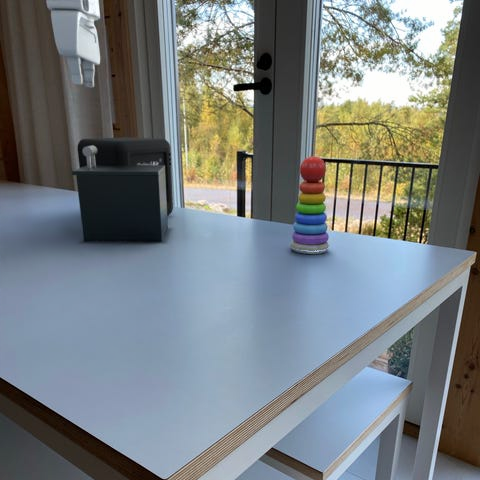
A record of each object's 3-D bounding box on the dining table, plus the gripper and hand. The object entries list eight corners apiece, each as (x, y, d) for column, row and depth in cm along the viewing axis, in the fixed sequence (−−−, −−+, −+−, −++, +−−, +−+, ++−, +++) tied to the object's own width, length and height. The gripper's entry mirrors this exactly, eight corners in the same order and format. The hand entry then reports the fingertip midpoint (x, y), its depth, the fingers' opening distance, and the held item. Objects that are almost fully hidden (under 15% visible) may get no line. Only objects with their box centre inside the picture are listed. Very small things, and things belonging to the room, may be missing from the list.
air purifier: (125, 228, 116) (118, 141, 108) (84, 221, 123) (75, 139, 115) (177, 215, 132) (174, 138, 124) (138, 209, 139) (133, 137, 131)
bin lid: (72, 175, 98) (68, 147, 96) (88, 168, 111) (85, 144, 109) (158, 175, 99) (157, 148, 97) (165, 168, 112) (163, 145, 110)
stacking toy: (309, 243, 105) (316, 154, 97) (336, 251, 99) (345, 157, 91) (282, 248, 100) (287, 155, 93) (308, 257, 94) (315, 158, 87)
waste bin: (83, 241, 104) (76, 175, 98) (98, 227, 116) (92, 168, 111) (162, 241, 104) (158, 175, 99) (167, 228, 117) (165, 169, 112)
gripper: (74, 16, 102) (81, 88, 107) (42, -6, 83) (53, 82, 88) (103, 17, 102) (109, 88, 108) (78, -5, 83) (87, 83, 89)
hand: (84, 86), depth 98 cm, fingers open, 8 cm apart
